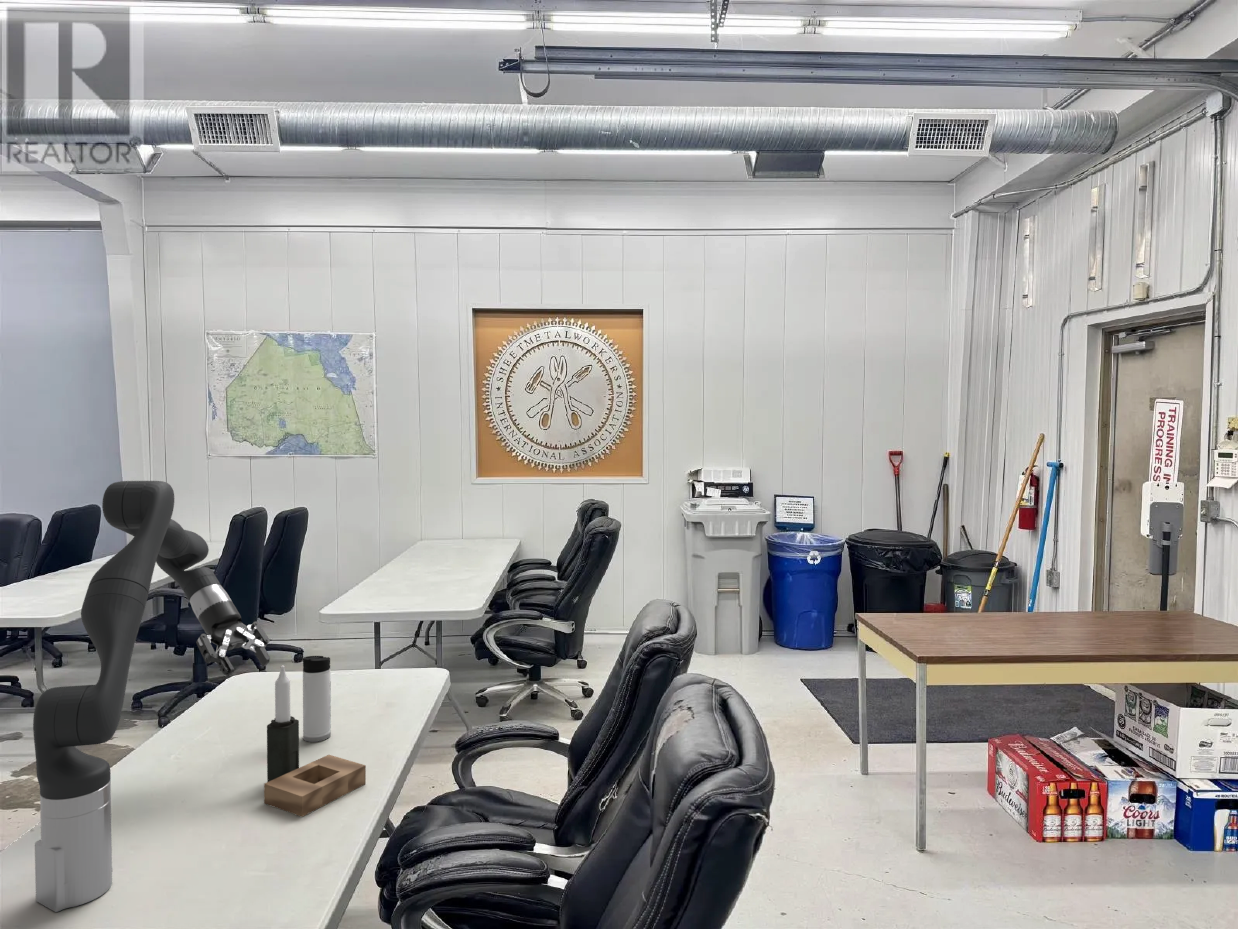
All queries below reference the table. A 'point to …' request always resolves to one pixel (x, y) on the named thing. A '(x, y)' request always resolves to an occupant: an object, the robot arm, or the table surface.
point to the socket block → (314, 785)
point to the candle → (282, 733)
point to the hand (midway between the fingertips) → (249, 668)
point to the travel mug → (316, 698)
